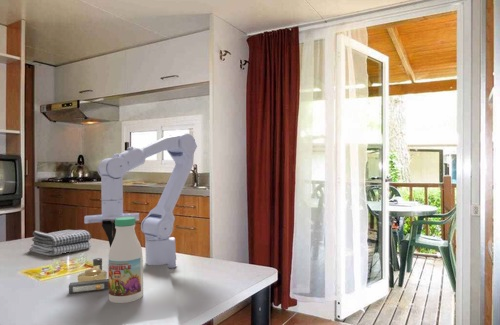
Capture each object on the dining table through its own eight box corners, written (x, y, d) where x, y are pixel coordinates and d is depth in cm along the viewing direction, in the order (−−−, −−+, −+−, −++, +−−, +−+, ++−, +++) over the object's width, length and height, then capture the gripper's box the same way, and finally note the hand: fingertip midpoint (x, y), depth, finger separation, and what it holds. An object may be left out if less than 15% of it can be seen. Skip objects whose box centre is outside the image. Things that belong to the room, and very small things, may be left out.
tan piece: (105, 286, 88) (105, 272, 88) (75, 289, 86) (75, 275, 86) (111, 269, 103) (110, 257, 103) (85, 271, 101) (85, 259, 101)
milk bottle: (114, 296, 85) (113, 215, 85) (146, 295, 86) (145, 215, 86) (104, 309, 78) (102, 221, 77) (139, 308, 78) (137, 220, 78)
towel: (53, 258, 122) (53, 236, 122) (28, 251, 132) (27, 231, 132) (93, 248, 135) (92, 228, 135) (67, 243, 145) (66, 224, 145)
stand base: (130, 274, 102) (130, 263, 102) (127, 294, 87) (127, 280, 87) (70, 280, 97) (70, 268, 97) (56, 302, 82) (56, 288, 82)
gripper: (82, 202, 93) (82, 252, 93) (138, 199, 97) (139, 247, 97) (86, 199, 100) (87, 246, 100) (138, 197, 104) (139, 242, 104)
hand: (112, 246), depth 99 cm, fingers closed
